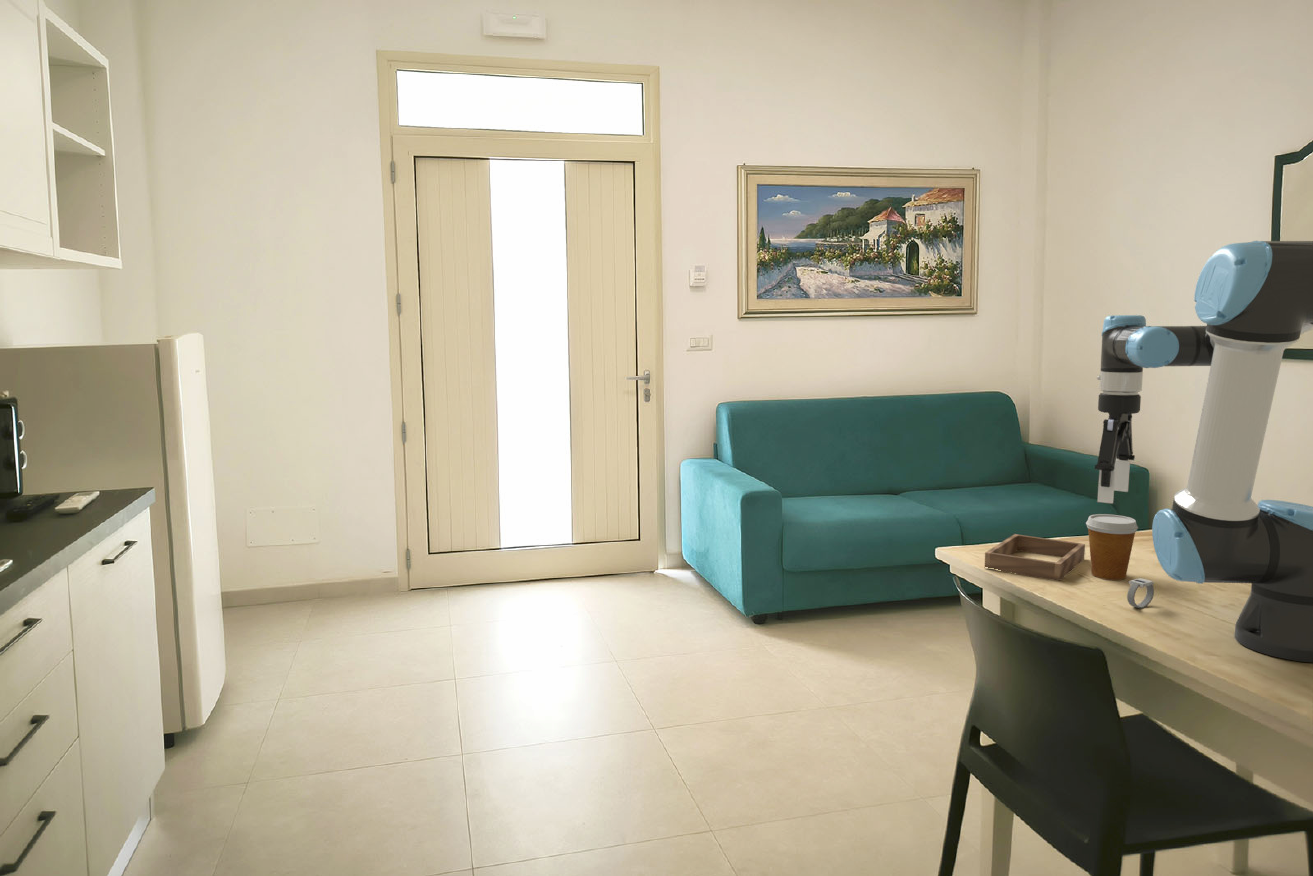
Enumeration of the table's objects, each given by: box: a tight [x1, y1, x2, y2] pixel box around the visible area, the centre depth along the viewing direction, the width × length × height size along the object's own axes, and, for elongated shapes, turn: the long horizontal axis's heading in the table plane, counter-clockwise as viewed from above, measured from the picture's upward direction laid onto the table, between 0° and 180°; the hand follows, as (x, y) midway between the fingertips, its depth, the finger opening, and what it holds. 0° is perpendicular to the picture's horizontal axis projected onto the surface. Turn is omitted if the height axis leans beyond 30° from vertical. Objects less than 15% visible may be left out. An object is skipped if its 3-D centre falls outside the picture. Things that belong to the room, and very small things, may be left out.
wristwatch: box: [1126, 577, 1155, 609], centre depth 162 cm, size 6×3×5 cm, turn 119°
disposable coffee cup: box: [1085, 513, 1139, 581], centre depth 181 cm, size 10×10×12 cm
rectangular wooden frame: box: [984, 533, 1086, 582], centre depth 191 cm, size 20×15×4 cm
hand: (1113, 496), depth 180 cm, fingers open, 13 cm apart
